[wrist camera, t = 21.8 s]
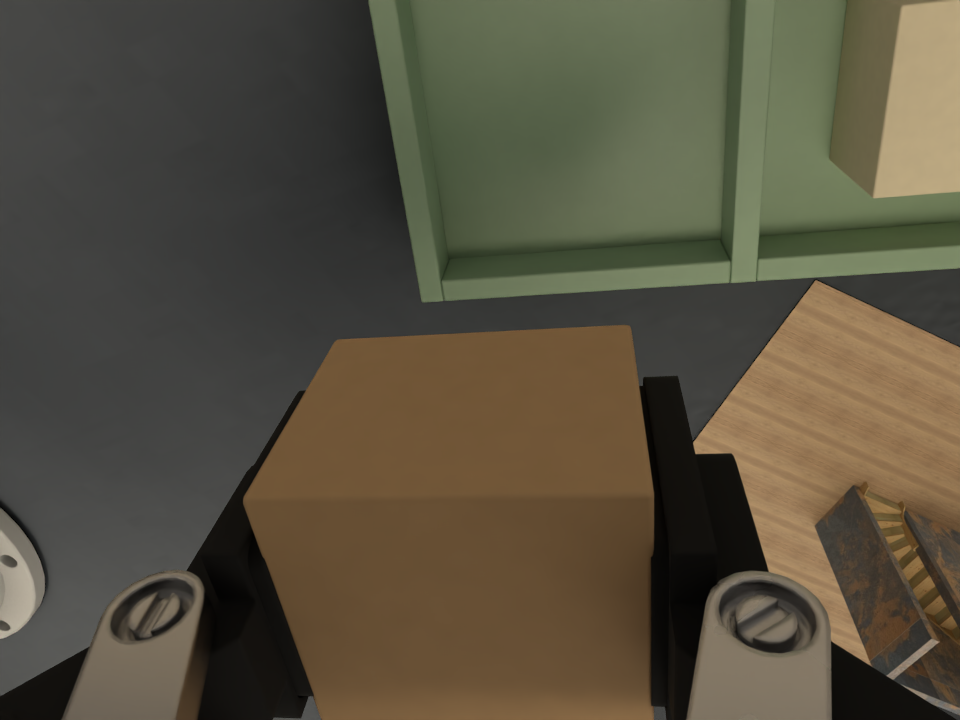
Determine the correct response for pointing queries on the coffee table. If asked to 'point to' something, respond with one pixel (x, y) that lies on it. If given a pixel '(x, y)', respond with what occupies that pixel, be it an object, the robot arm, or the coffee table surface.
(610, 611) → the brown block
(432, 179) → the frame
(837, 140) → the tan rectangular block
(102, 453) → the coffee table surface
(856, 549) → the architectural model on board
